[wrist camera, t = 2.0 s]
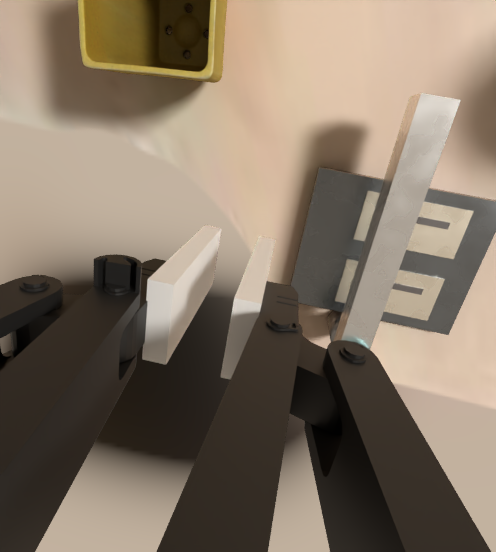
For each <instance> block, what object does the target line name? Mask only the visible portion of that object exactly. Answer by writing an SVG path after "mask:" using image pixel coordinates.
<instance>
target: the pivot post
mask: <svg viewBox="0 0 496 552" xmlns="http://www.w3.org/2000/svg"><path fill="white" fill-rule="evenodd" d="M341 315H342V312H339V311H332V312H331V313H330V314H329V316H328V327H329V333H330V339H331V342H333V341H334V337H335V334H336V331H337V328H338V325H339V321H340V318H341Z"/></svg>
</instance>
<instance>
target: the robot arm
mask: <svg viewBox="0 0 496 552" xmlns="http://www.w3.org/2000/svg"><path fill="white" fill-rule="evenodd" d="M220 233H221V228H218V227H212V226H208V225H204V226H203V227H202V228H201V229H200V230H199V231H198V232H197V233H196V234H195V235H194V236H193V237H192V238H191V239H190V240H188V241H187V242H186V243H185V244H184V245H183V246H182V247H181V248H180V249H179V250H178V251H177V252H176V253H175V254H174V255H173V256H172V257H171V258H170V259H168V260H167V261H164V260H159V259H152V260H149V261H146V262H144V263H141V262H140V261H139V260H137V259H136V258H133V257H129V256H125V255H105V256H100V257H97V258H96V259H94V286H93V287H92V288H91V289H90V290H89V291H88V292H87V293H85V294H84V295H78V294H63V290H62V283H61V282H60V281H59V280H58V279H55V278H53V277H48V276H45V275H40V276H39V275H32V276H28V277H22V278H19V279H15V280H12V281H10V282H7V283H5V284H2V285H0V338H2V337H4V336H6V335H7V334H9V333H10V334H11V344H12V350H11V351H9V352H7V353H4V354H2V353H1V349H0V552H35V551H36V549H37V547H38V545H39V543H40V541H41V540H42V538H43V536H44V534H45V532H46V531H47V529H48V527H49V525H50V523H51V521H52V519H53V517H54V516H55V514H56V512H57V510H58V509H59V506H60V505H61V503H62V501H63V499H64V497H65V496H66V494H67V492H68V490H69V488H70V486H71V485H72V483H73V481H74V479H75V477H76V475H77V473H78V472H79V470H80V468H81V466H82V464H83V463H84V461H85V459H86V457H87V455H88V453H89V452H90V450H91V448H92V446H93V444H94V442H95V440H96V439H97V437H98V435H99V433H100V431H101V429H102V427H103V426H104V424H105V422H106V420H107V419H108V417H109V415H110V413H111V411H112V409H113V408H114V406H115V404H116V402H117V400H118V398H119V397H120V395H121V393H122V391H123V389H124V387H125V385H126V384H127V382H128V380H129V378H130V376H131V374H132V373H133V371H134V369H135V366H136V357H137V352H138V351H139V349H140V348H141V347H142V345H143V355H142V359H144V360H148V361H153V362H157V363H161V364H166V363H167V362H168V360H169V358H170V357H171V355H172V353H173V351H174V349H175V348H176V346H177V345H178V343H179V341H180V339H181V338H182V336H183V334H184V332H185V331H186V329H187V327H188V326H189V324H190V322H191V320H192V319H193V317H194V315H195V314H196V312H197V310H198V308H199V306H200V305H201V303H202V301H203V300H204V298H205V296H206V294H207V293H208V291H209V289H210V288H211V286H212V284H213V281H214V275H215V268H216V261H217V254H218V247H219V241H220ZM275 240H276V239H271V238H267V237H262V236H259V237H258V240H257V242H256V245H255V247H254V250H253V252H252V255H251V257H250V260H249V262H248V265H247V268H246V270H245V273H244V275H243V278H242V280H241V283H240V286H239V288H238V291H237V293H236V295H235V298H234V304H233V310H232V315H231V321H230V326H229V332H228V339H227V343H226V349H225V355H224V360H223V366H222V372H221V377H222V378H227V379H231V380H230V382H229V384H228V387H227V389H226V391H225V394H224V396H223V398H222V401H221V403H220V405H219V408H218V410H217V412H216V415H215V417H214V419H213V422H212V424H211V426H210V429H209V431H208V433H207V436H206V438H205V440H204V443H203V445H202V447H201V449H200V452H199V454H198V457H197V459H196V461H195V463H194V466H193V468H192V470H191V473H190V475H189V477H188V480H187V482H186V485H185V487H184V489H183V491H182V494H181V496H180V498H179V501H178V503H177V505H176V508H175V510H174V512H173V515H172V517H171V519H170V522H169V524H168V526H167V529H166V531H165V533H164V536H163V538H162V540H161V543H160V545H159V547H158V550H157V552H268V546H269V540H270V534H271V528H272V521H273V514H274V508H275V502H276V496H277V490H278V483H279V477H280V471H281V464H282V458H283V452H284V444H285V438H286V432H287V426H288V420H289V414H290V413H291V414H292V415H294V416H296V417H298V418H300V419H302V420H304V421H305V433H306V438H307V442H308V447H309V452H310V457H311V462H312V466H313V471H314V476H315V481H316V485H317V490H318V495H319V500H320V505H321V509H322V514H323V519H324V524H325V529H326V534H327V538H328V543H329V548H330V552H491V551H490V549H489V547H488V546H487V544H486V542H485V541H484V539H483V537H482V536H481V534H480V532H479V530H478V529H477V527H476V525H475V523H474V522H473V520H472V518H471V517H470V515H469V513H468V512H467V510H466V508H465V506H464V505H463V503H462V501H461V500H460V498H459V496H458V494H457V493H456V491H455V490H454V488H453V486H452V484H451V482H450V481H449V479H448V478H447V476H446V474H445V472H444V471H443V469H442V467H441V465H440V464H439V462H438V460H437V459H436V457H435V455H434V453H433V452H432V450H431V448H430V447H429V445H428V443H427V442H426V440H425V438H424V436H423V435H422V433H421V431H420V430H419V428H418V426H417V424H416V423H415V421H414V419H413V418H412V416H411V414H410V412H409V411H408V409H407V407H406V406H405V404H404V402H403V401H402V399H401V397H400V396H399V394H398V392H397V390H396V389H395V387H394V385H393V383H392V382H391V380H390V378H389V377H388V375H387V373H386V371H385V370H384V368H383V366H382V365H381V363H380V361H379V360H378V358H377V357H376V356H375V354H374V353H373V352H372V351H370V350H369V349H367V348H366V347H365V346H363V345H361V344H358V343H356V342H351V341H347V340H336V341H333V342H331V343H330V344H329V345H328V348H327V349H325V348H322V347H320V346H318V345H315V344H313V343H311V342H310V341H308V340H307V339H306V338H304V337H303V336H302V327H301V325H300V324H299V323H298V293H297V291H296V290H295V289H294V288H293V287H292V286H287V285H282V284H277V283H273V282H268V281H267V278H268V273H269V268H270V264H271V259H272V254H273V249H274V245H275Z"/></svg>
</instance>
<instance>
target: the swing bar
mask: <svg viewBox="0 0 496 552" xmlns="http://www.w3.org/2000/svg"><path fill="white" fill-rule="evenodd" d="M460 101H461V100H458V99H453V98H447V97H441V96H436V95H430V94H424V93H420V94H417V95H414V96H411V97H410V98H409V102H408V105H407V108H406V111H405V114H404V117H403V121H402V124H401V127H400V130H399V133H398V137H397V140H396V143H395V146H394V149H393V153H392V156H391V159H390V162H389V165H388V168H387V172H386V175H385V178H384V181H383V184H382V188H381V191H380V194H379V197H378V200H377V204H376V207H375V210H374V213H373V216H372V219H371V223H370V226H369V229H368V232H367V235H366V239H365V242H364V245H363V248H362V251H361V255H360V258H359V261H358V264H357V267H356V270H355V274H354V277H353V280H352V283H351V286H350V290H349V293H348V296H347V299H346V302H345V306H344V309H343V312H342V315H341V318H340V321H339V325H338V328H337V331H336V334H335V337H334V341H336V340H347V341H351V342H356V343H358V344H361V345H363V346H365V347H366V348H367V349H369V350H370V348H371V345H372V342H373V339H374V337H375V334H376V331H377V328H378V326H379V323H380V320H381V317H382V315H383V312H384V309H385V306H386V304H387V301H388V298H389V296H390V293H391V290H392V287H393V285H394V282H395V279H396V276H397V274H398V271H399V268H400V265H401V263H402V260H403V257H404V254H405V252H406V249H407V246H408V243H409V241H410V238H411V235H412V233H413V230H414V227H415V224H416V222H417V219H418V216H419V213H420V211H421V208H422V205H423V202H424V200H425V197H426V194H427V191H428V189H429V186H430V183H431V180H432V178H433V175H434V172H435V170H436V167H437V164H438V161H439V159H440V156H441V153H442V150H443V148H444V145H445V142H446V139H447V137H448V134H449V131H450V128H451V126H452V123H453V120H454V117H455V115H456V112H457V109H458V107H459V104H460Z"/></svg>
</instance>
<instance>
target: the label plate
mask: <svg viewBox="0 0 496 552" xmlns="http://www.w3.org/2000/svg"><path fill="white" fill-rule="evenodd" d="M383 181H384V179H381V178H376V177H370V176H365V175H360V174H355V173H349V172H344V171H339V170H334V169H329V168H323V167H319V168H318V172H317V176H316V180H315V185H314V189H313V193H312V197H311V201H310V205H309V210H308V214H307V218H306V222H305V226H304V230H303V234H302V239H301V243H300V247H299V251H298V255H297V259H296V264H295V268H294V272H293V276H292V280H291V284H290V286H292V287H293V288H294V289H295V290H296V291H297V293H298V303H302V304H306V305H311V306H316V307H320V308H325V309H330V310H334V311H339V312H343V309H344V306H345V302H346V299H347V296H348V293H349V290H350V286H351V283H352V280H353V277H354V274H355V270H356V267H357V264H358V261H359V258H360V255H361V251H362V248H363V245H364V242H365V239H366V235H367V232H368V229H369V226H370V223H371V219H372V216H373V213H374V210H375V207H376V204H377V200H378V197H379V194H380V191H381V188H382V184H383ZM495 232H496V200H490V199H485V198H480V197H475V196H469V195H464V194H459V193H454V192H449V191H443V190H438V189H433V188H429V189H428V191H427V194H426V197H425V200H424V202H423V205H422V208H421V211H420V213H419V216H418V219H417V222H416V224H415V227H414V230H413V233H412V235H411V238H410V241H409V243H408V246H407V249H406V252H405V254H404V257H403V260H402V263H401V265H400V268H399V271H398V274H397V276H396V279H395V282H394V285H393V287H392V290H391V293H390V296H389V298H388V301H387V304H386V306H385V309H384V312H383V315H382V317H381V321H386V322H390V323H395V324H400V325H404V326H409V327H414V328H418V329H423V330H428V331H432V332H437V333H441V334H446V335H448V334H449V332H450V330H451V328H452V326H453V323H454V321H455V319H456V317H457V315H458V313H459V310H460V308H461V306H462V304H463V302H464V300H465V297H466V295H467V293H468V291H469V289H470V286H471V284H472V282H473V280H474V278H475V276H476V273H477V271H478V269H479V267H480V265H481V262H482V260H483V258H484V256H485V254H486V252H487V249H488V247H489V245H490V243H491V241H492V239H493V236H494V234H495Z"/></svg>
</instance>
